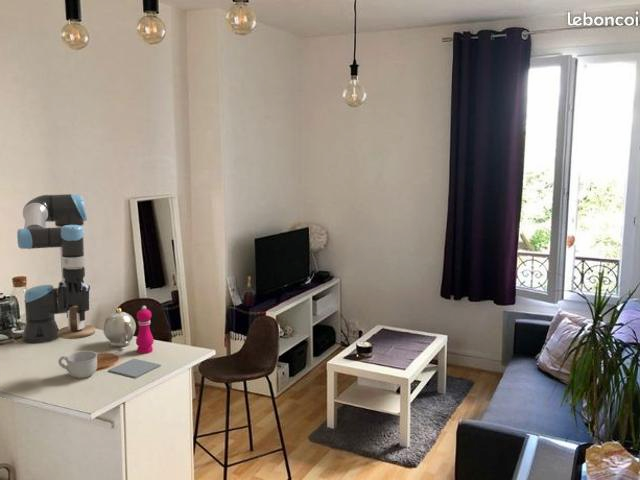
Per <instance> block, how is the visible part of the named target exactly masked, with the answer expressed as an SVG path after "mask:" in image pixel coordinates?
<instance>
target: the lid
mask: <svg viewBox="0 0 640 480" xmlns="http://www.w3.org/2000/svg"><path fill="white" fill-rule="evenodd" d="M77 312H78V308H77V306H71V307H70V322H71V328H68V325H67V326H64V327H62V328H60V329H59V331H58V336H59V337H58V338H61V339H65V340H79V339H85V338H88V337H90V336H91V337H92V336H93V335H94V334H95V333H96V328H95V326H93V325H89V324H84V328H83V329H80V330H77Z"/></svg>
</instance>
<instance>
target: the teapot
mask: <svg viewBox="0 0 640 480" xmlns="http://www.w3.org/2000/svg"><path fill="white" fill-rule="evenodd" d="M136 329H137V325H136V321H135V319H134V317H133V316H132V315H131V314H129V313H127V312H125V311H122V308H120V307H118V308H117V309H116V311H115V312H110V313H109V315H108V316H107V317H106V319H104V322H103V325H102V332H103V334H104V337H105V338H106V339H107V340H108V341H109V342H108V343H109V346H110V347H113V348H123V347H127V346H128V345H130V344H131V342H132V339H133V337H134V335H135V332H136Z"/></svg>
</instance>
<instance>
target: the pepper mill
mask: <svg viewBox="0 0 640 480" xmlns="http://www.w3.org/2000/svg"><path fill="white" fill-rule="evenodd" d="M136 318H137V320H138V321H137V323H138V327H139V330H138V334H137V336H136V339H135V344H136V345H137V348H136V349H137V353H138V354H141V355H143V354H144V355H145V354H150V353H152V352H153V347H154V346H153V345H154V336H153V334H152V332H151V329H150V325H151V318H152V311H150V310H149V309H148V308H147V306H146V305H142V307H141V309H140V310H138V311H137V313H136Z"/></svg>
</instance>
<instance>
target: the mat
mask: <svg viewBox="0 0 640 480" xmlns="http://www.w3.org/2000/svg"><path fill="white" fill-rule="evenodd" d="M161 366H162V365H161V364H159V363H155V362H151V361H146V360H141V359H137V358H131V359H130V360H127V361H125V362H123V363H121V364H118V365H116V366H114V367H111V368H110V369H107V372H109V373H113V374H118V375H122V376H124V377H125V376H126V377H129V378H134V379H137V378H139V377H141V376H143V375H146V374H147V373H149V372H152V371H154V370H156V369H158V368H160V367H161Z"/></svg>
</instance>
